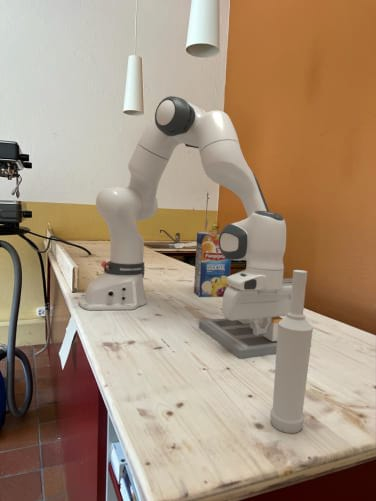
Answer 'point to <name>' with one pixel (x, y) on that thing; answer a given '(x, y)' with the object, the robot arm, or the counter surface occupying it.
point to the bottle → (292, 361)
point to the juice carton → (210, 267)
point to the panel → (239, 337)
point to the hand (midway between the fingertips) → (259, 334)
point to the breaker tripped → (273, 329)
